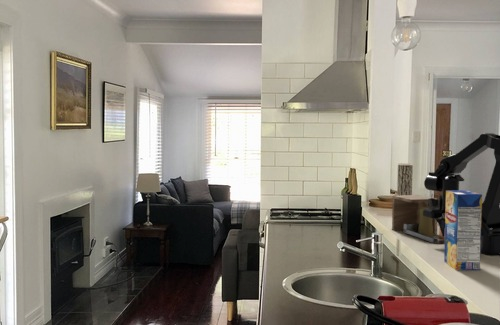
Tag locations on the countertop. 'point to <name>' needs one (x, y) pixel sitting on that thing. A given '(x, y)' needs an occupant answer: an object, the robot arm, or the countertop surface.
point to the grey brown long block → (413, 230)
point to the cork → (425, 223)
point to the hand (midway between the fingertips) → (449, 236)
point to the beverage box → (463, 229)
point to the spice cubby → (409, 211)
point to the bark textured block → (404, 179)
